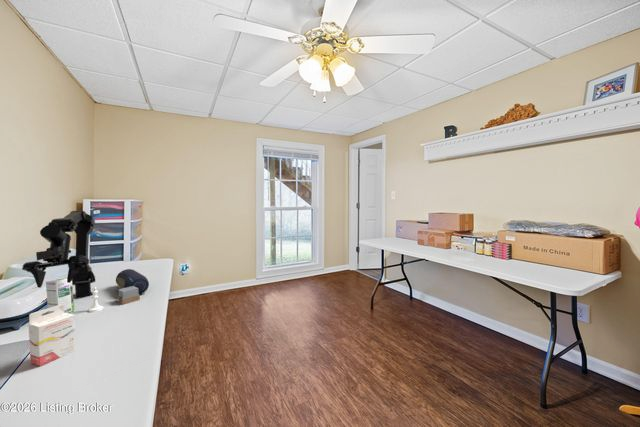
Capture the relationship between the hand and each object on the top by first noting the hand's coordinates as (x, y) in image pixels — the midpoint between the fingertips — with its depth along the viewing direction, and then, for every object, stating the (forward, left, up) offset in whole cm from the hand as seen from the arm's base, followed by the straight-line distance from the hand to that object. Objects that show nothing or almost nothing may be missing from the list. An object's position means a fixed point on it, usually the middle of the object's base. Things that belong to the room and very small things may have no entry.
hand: (54, 284), depth 100 cm
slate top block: (-1, +24, -12) cm, 27 cm away
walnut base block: (-1, +24, -15) cm, 28 cm away
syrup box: (-8, +3, -15) cm, 17 cm away
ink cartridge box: (+32, -5, -15) cm, 36 cm away
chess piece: (-1, +12, -15) cm, 19 cm away
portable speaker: (-15, +30, -15) cm, 37 cm away
